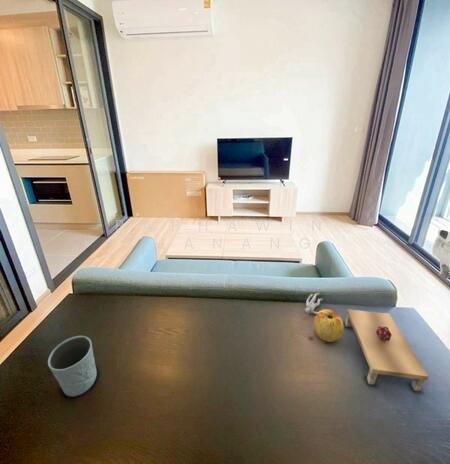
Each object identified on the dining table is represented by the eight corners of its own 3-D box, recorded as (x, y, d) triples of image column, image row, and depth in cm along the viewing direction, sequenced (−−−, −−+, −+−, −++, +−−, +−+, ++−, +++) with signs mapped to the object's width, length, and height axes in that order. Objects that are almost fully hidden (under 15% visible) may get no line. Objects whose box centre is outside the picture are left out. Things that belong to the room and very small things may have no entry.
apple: (341, 331, 86) (346, 309, 83) (339, 352, 79) (344, 329, 75) (314, 322, 90) (318, 300, 87) (310, 341, 83) (314, 318, 79)
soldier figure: (327, 306, 99) (322, 318, 88) (316, 310, 101) (310, 322, 90) (316, 288, 101) (310, 297, 91) (306, 292, 103) (299, 302, 93)
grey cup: (106, 370, 73) (99, 340, 69) (78, 406, 64) (68, 375, 60) (80, 360, 76) (71, 331, 72) (49, 393, 67) (38, 363, 63)
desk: (384, 327, 88) (389, 313, 86) (421, 392, 68) (428, 376, 65) (344, 322, 90) (347, 309, 88) (368, 384, 70) (373, 369, 67)
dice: (392, 344, 74) (396, 335, 73) (376, 342, 75) (379, 332, 74) (387, 334, 78) (390, 324, 76) (372, 331, 79) (375, 322, 77)
